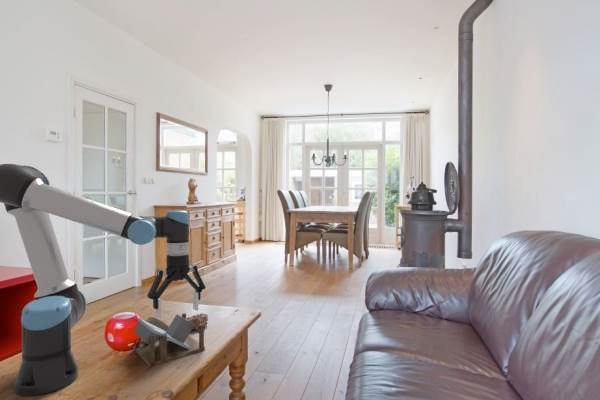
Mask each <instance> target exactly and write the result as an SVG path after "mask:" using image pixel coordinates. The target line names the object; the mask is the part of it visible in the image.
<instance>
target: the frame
mask: <svg viewBox="0 0 600 400" xmlns="http://www.w3.org/2000/svg"><path fill="white" fill-rule="evenodd" d="M181 317H183V318H185V319H186V318H187V313H186V312H183V313H181ZM147 320H148V319H147ZM147 320H144V321H146V322H148V323H150V324H151V321H147ZM184 343H185V344H187V345H188V346H189V347H190V349H187V348H185V347H182V346H180V345H178V344H176V343H174V342H172V341H170V340H168V339H167V334H166V333H164V334H160V335H159V338H158V340H157V342H156V343H155V337H154V336H152V337H149V344H147V343H145V342H143V344H140V341H139V342H138V343H137V344H136V346H135V345H134V346H133V351H134V350H135V351H136V352H135V351H134V352H135V353H136V354H137V355H138V356H139V357H140V358H141V360H142V361H144V363H145V364H146V365H147V366H148V367H153V366H156V365H160V364H163V363H166V362H169V361H173V360H176V359H179V358H182V357H186V356H189V355H192V354H193V355H194V354H196V353H199V352H203V351H205V349H206V348H205V347H206V346H205V345H204V344H205V326H204V324H200V325H199V330H198V340H196V339H194V338H193V337H192V336H190V334H189V335H188V337H187V339H186V340H185V342H184Z"/></svg>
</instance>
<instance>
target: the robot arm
mask: <svg viewBox="0 0 600 400" xmlns="http://www.w3.org/2000/svg"><path fill="white" fill-rule="evenodd" d="M50 182H51V181H50V180H49V178H48V176H47V174H45V173H44V172H43V171H42V170H40V169H38V168H37V167H36V168H35V167H34V166H29V165H20V164H15V163H2V164H0V203H1V204H3V205H4V208H5V211H6V213H7V214H9V215H11V216H13V217H14V219H15V222H16V225H17V228H18V231H19V234H20V237H21V240H22V242H23V243H22V244H23V246H24V248H25V252H26V255H27V258H28V262H29V265H30V268H31V271H32V274H33V277H34V280H35V283H36V287H37V290H36V292H35V293H34V295H33V297H34V299H33V300H31V301H30V302H28V303H27V304H26V305H25V306H24V307H23V309H22V311H21V317H20V323H21V362H20V366H19V368H18V371H17V373H16V377H15V379H14V384H13V385H14V388H13V389H14V392H15V393H16V394H17V395H19V396H39V395H45V394H48V393H53V392H55V391H57V390H60V389H63V388H65V387H66V386H68V385H70V384H71V383H73V382H74V381H75V380H76V379H77V378H78V376H79V368H78V364H77V362H76V359H75V357H74V354H73V352H72V329H73V327H74V326H75V325H76V324H77V323H78V322H79V321H80V320H81V319H82V318H83V316H84V314H85V312H86V309H87V299H86V296H85V294H84V293H83V292H82V291H81V290H79V288H78V285H77V281H75V280H72V279H70V278H69V273H68V270H67V268H66V267H67V266H66V265H65V261H64V258H63V255H62V252H61V248H60V246H59V242H58V239H57V236H56V233H55V229H54V226H53V223H52V220H51V216H50V214H51V215H54V216H57V217H59V218H63V219H66V220H69V221H72V222H75V223H78V224H81V225H84V226H87V227H90V228H93V229H96V230H99V231H102V232H106V233H109V234H112V235H114V236H118V237H120V238H121V237H122V238H124V239H126V240H129V241H131V243H133V244H135V245H139V246H142V245H143V246H144V245H146V244H147V245H148V244H150V243H151V242H153V240H154V239H160V238H161V239H164V238H166V251H165V252H166V254H167V255H166V260H165V261H166V268H165V269H160V268H158V269H157V271H156V276H155V278H154V281H153V283H152V285H151V287H150V289H149V290H148V293H147V295H146V296H147V298H148V299H150V300H152V307H153V309H154V310H155V318H157V319H159V320H161V319H162V299H161V298H160V297H161V296H162V295H163V293H164V292H165V291H166V289H167V288H168V286H169V285H170V284H172V283H173V282H178V281H184V280H185V281H187V283H188V284H189V285H190V286H191V287H192V288H193V289H194V291H193V292H192V308H193V310H195V311H197V312H198V311H199V301H201V293H202V292H203V290H205V289H206V285H205V283H204V281H203V279H202V277H201V275H200V273H199V271H198V266H197V265H196V264H192V265H190V259H189V258H190V254H188V253H190V252H189V251H190V244H189V243H190V242H189V240H190V237H189V236H190V219H189V215H190V214H189V212H188V211H187V210H176V209H175V210H167V211H166V215H164V216H142V215H139V216H138V215H135V214H132V213H129V212H128V211H127V212H126V211H123V210H121V209H118V208H115V207H112V206H109V205H106V204H104V203H101V202H98V201H95V200H92V199H89V198H87V197H83V196H80V195H78V194H75V193H72V192H69V191H66V190H64V189H61V188H59V187H55V186H53V185H51V183H50ZM189 265H190V266H189ZM189 272H192V275H193V277H194V279H195V281H196V282H195V281H194V280H193V279H192V278H191V276H190V275H189ZM165 275H166V277H165ZM163 277H165V278H164V281H163V282H162V279H163Z"/></svg>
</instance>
